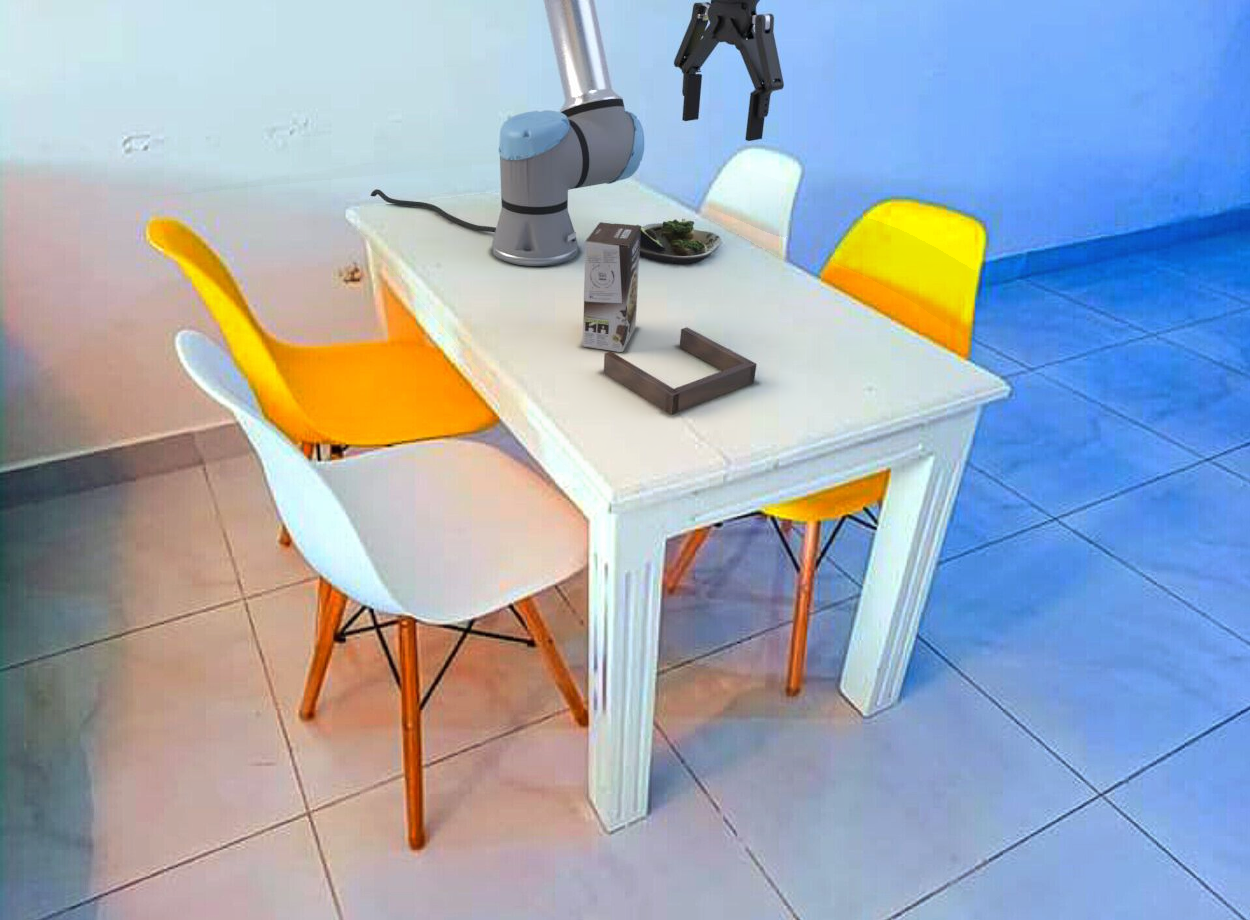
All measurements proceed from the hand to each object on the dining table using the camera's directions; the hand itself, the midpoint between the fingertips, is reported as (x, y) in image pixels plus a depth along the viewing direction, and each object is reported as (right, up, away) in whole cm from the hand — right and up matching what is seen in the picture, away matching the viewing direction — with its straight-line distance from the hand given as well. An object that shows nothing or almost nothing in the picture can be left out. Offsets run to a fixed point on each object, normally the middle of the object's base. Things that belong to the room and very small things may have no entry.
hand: (720, 129), depth 137 cm
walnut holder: (-7, -38, -10) cm, 40 cm away
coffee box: (-17, -31, 0) cm, 36 cm away
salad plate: (-6, -10, +33) cm, 35 cm away
